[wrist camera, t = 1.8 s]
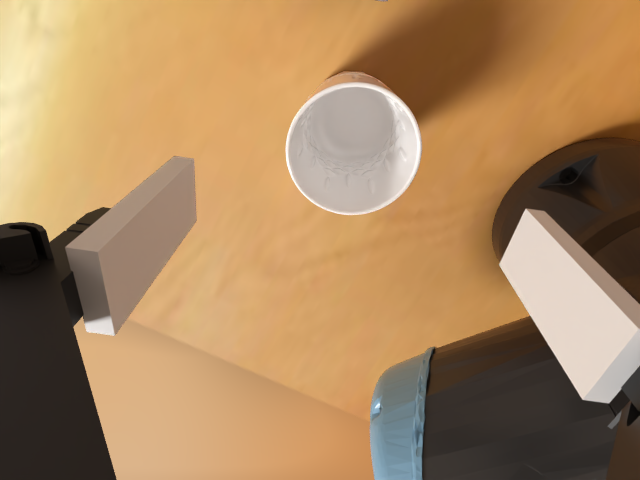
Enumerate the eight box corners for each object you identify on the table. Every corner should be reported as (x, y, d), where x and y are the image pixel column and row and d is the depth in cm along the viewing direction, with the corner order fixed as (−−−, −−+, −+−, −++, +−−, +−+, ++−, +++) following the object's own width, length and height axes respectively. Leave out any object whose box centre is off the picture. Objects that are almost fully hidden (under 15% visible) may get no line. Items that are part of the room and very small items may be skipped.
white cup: (346, 37, 28) (347, 48, 19) (420, 109, 30) (451, 147, 21) (282, 121, 31) (259, 161, 22) (353, 180, 33) (356, 237, 25)
